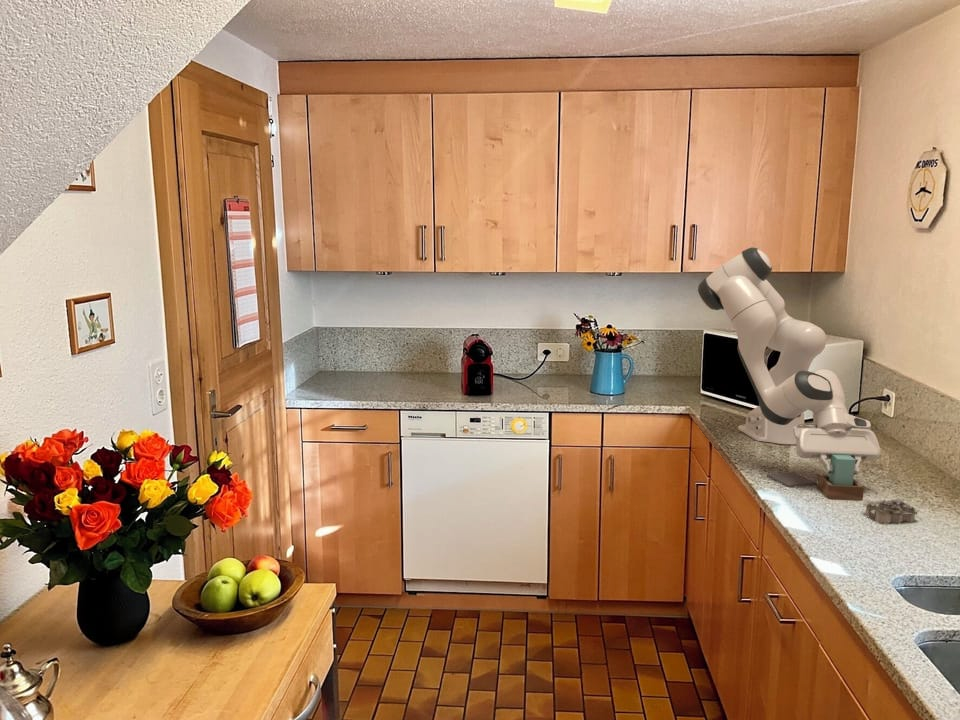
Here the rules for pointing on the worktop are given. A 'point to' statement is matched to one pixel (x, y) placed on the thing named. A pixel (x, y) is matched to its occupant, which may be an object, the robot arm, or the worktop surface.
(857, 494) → the pocket holder
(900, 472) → the worktop surface
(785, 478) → the rubber mat
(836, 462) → the teal block
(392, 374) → the worktop surface
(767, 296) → the robot arm
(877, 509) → the egg carton
